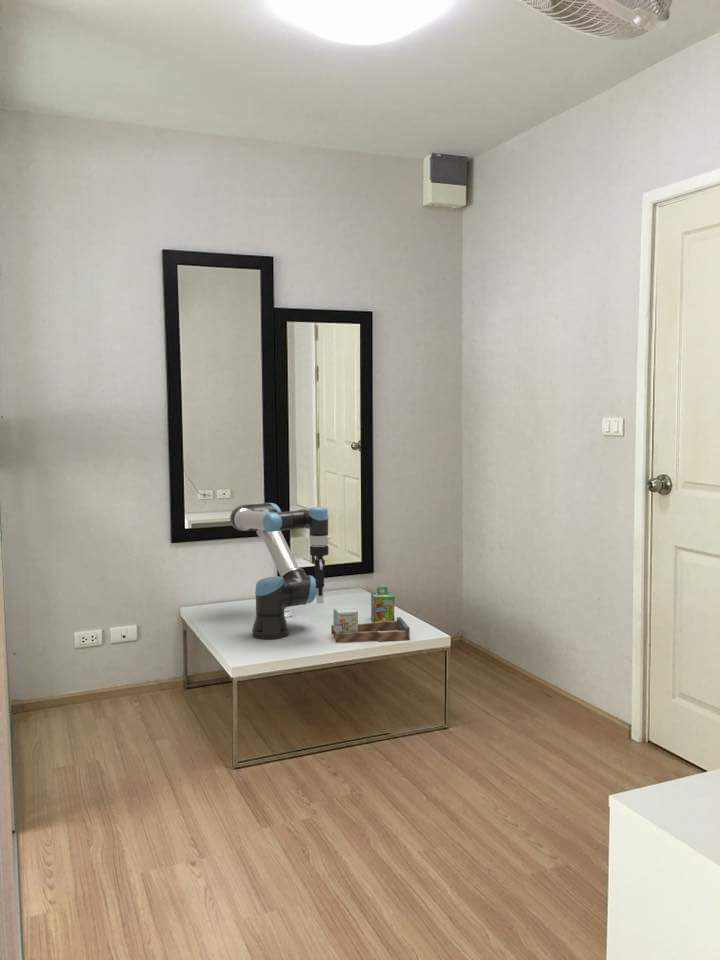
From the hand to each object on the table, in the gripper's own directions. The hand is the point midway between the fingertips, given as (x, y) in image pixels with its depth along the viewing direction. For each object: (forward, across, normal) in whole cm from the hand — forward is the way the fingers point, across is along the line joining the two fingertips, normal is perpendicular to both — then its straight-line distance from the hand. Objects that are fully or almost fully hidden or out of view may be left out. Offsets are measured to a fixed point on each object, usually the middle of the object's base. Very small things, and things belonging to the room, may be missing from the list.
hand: (320, 603), depth 330 cm
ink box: (+15, 0, -10) cm, 18 cm away
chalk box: (+15, +24, -30) cm, 41 cm away
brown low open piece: (+15, 0, -20) cm, 25 cm away
